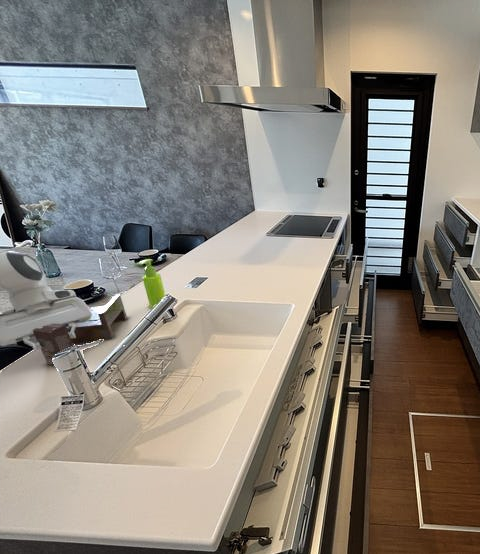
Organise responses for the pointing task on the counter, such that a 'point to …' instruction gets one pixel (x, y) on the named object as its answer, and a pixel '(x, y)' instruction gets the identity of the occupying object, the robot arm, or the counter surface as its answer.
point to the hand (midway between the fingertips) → (56, 343)
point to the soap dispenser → (152, 283)
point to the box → (52, 340)
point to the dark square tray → (100, 322)
